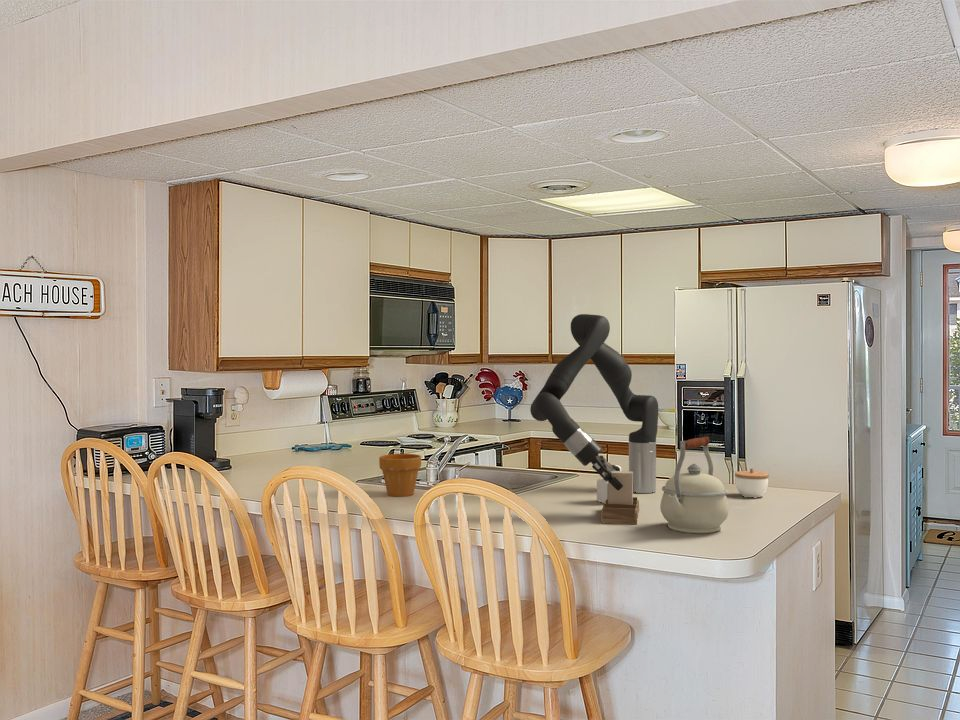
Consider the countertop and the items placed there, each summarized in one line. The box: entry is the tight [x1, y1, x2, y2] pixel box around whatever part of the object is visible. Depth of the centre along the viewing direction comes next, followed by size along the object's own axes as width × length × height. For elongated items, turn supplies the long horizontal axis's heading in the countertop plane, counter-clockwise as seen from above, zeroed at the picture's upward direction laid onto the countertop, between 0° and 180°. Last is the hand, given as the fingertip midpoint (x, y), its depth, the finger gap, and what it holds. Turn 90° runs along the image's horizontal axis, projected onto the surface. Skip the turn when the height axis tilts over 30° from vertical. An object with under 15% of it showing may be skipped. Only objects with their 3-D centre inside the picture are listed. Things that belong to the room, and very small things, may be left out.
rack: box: [600, 496, 640, 525], centre depth 253 cm, size 20×10×4 cm, turn 168°
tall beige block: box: [608, 470, 634, 505], centre depth 252 cm, size 4×7×12 cm, turn 77°
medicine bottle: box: [596, 464, 622, 504], centre depth 275 cm, size 7×7×12 cm
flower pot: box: [378, 453, 422, 498], centre depth 290 cm, size 14×14×13 cm
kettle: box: [659, 436, 730, 534], centre depth 235 cm, size 25×18×25 cm
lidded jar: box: [734, 467, 769, 498], centre depth 286 cm, size 11×11×9 cm
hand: (621, 486), depth 252 cm, fingers open, 8 cm apart
